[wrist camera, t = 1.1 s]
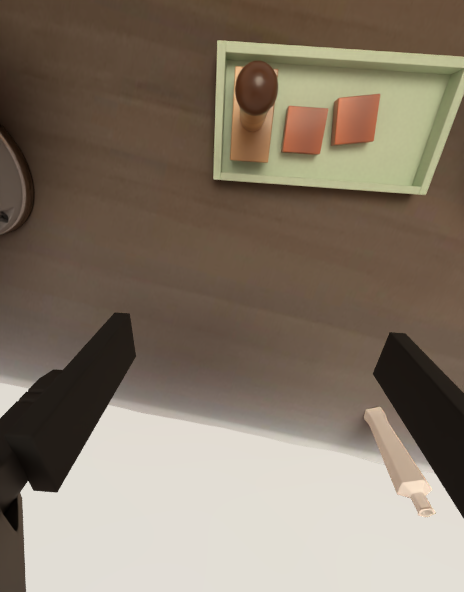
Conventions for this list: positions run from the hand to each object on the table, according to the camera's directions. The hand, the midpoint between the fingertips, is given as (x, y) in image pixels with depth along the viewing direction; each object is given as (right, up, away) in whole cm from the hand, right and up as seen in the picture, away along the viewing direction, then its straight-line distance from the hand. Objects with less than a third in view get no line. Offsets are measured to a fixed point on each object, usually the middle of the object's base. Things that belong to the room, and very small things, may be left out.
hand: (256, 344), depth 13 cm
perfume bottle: (+25, -19, +33) cm, 46 cm away
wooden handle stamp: (+1, +21, +14) cm, 25 cm away
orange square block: (+11, +21, +14) cm, 27 cm away
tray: (+9, +21, +15) cm, 27 cm away
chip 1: (+6, +20, +14) cm, 26 cm away
